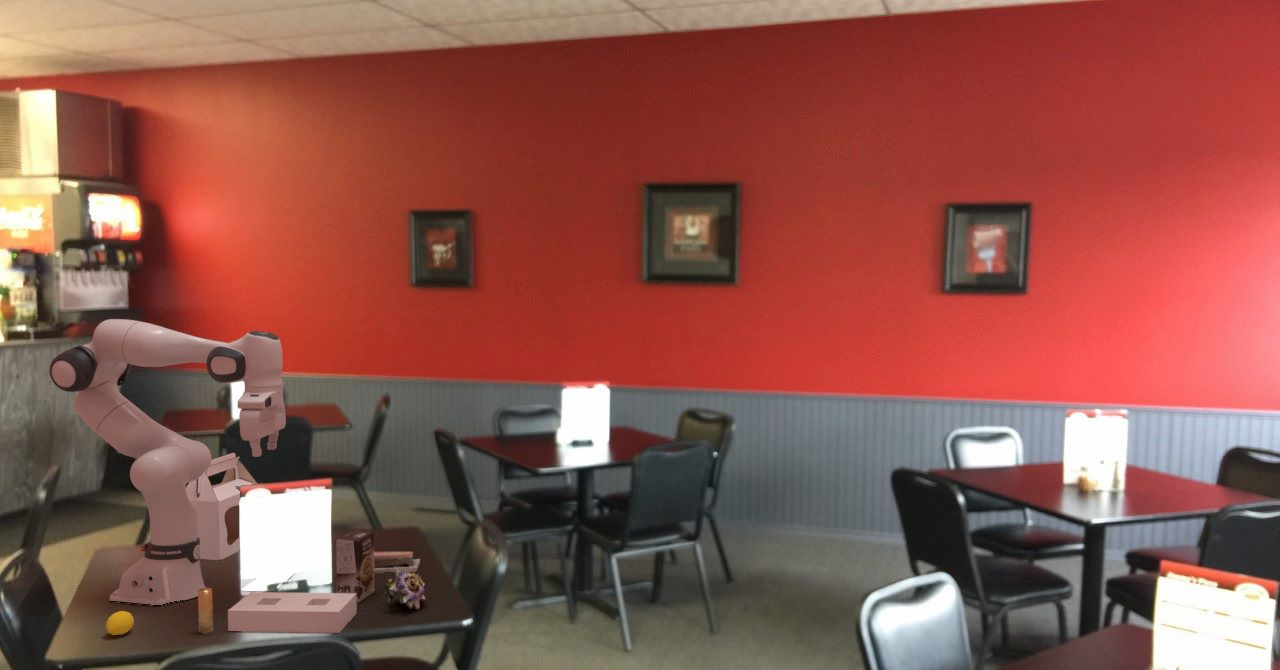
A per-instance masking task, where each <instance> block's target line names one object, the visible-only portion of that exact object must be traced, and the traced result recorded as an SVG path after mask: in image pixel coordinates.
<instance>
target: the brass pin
mask: <svg viewBox="0 0 1280 670" xmlns="http://www.w3.org/2000/svg"><path fill="white" fill-rule="evenodd" d="M197 598H198V599H197V600H198V601H197V604H198V605H197V606H198V633H199V632H202V633H204V632H206V633H207V632H211V631H213V632H214V614H213V613H214V611H213V588H212V587H206V588H202V589H199V590H198V596H197Z"/></svg>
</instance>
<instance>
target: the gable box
mask: <svg viewBox="0 0 1280 670" xmlns="http://www.w3.org/2000/svg"><path fill="white" fill-rule="evenodd" d="M239 459H240V455H239V456H236V453H235V452H230V453H227V454H224V455H221V456H218V457H215V458H212V460H211V465H210V467H209V469H208V470H207V471H206V472H205V473H204V474H203V475H202V476H200V477H199V478H198V479H196V480H194V481H191V482H189V483H187V485H186V492H187V495H188V498H189V501H190V502H191V503H192V504H193V505H195V507H196V509H197V522H198V537H199V538H200V559H199V560H202V559H204V560H205V561H222V560H224V559H226V558H228V557H230V556H232V555H234V554H236V553H238V552H240V551H239V500H240V491H239V490H238V489H236V487H235V486H241V485H251V484H259V483H258V482H257V480H256V479H255V478H254V477H253V475H252V474H251V473H250V471H249V470H248V469H247V467H245V465H244V464H243V463H242V462H241V460H239ZM225 471H226V472H225ZM222 472H225V474H224V477H223V478H222V481H221V483H218V484H215V485H212V483H211V481H210V478H209V477H210V476H213V475H216V474H220V473H222Z"/></svg>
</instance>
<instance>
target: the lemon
mask: <svg viewBox="0 0 1280 670" xmlns="http://www.w3.org/2000/svg"><path fill="white" fill-rule="evenodd" d="M134 623H135V620H134V616H133V615H132V613H131V612H128V611H124V610H119V611H116V612H114V613H112V614H111V615H110V616H109V617H108V618H107V620H106V624H105V629H106V631H107V633H108V634H110V635H111V634H112V635H111V636H113V635H117V634H123V633H126V632H127V633H128V631H129V630H130V631H131V629H132V628H133V627H134ZM130 631H129V632H130ZM127 633H126V634H127Z"/></svg>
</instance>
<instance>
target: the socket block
mask: <svg viewBox="0 0 1280 670" xmlns="http://www.w3.org/2000/svg"><path fill="white" fill-rule="evenodd" d="M357 608H358V607H357V603H356V593H337V592H333V593H332V592H276V591H275V592H274V591H250V592H249V593H248V594H247V595H245V596H244V597H243V598H242V599H241V600H240V601H238V602H237V603H235V604H234V605H233V606H232V607H231V608H228V610H227V626H228V630H227V631H241V632H242V633H244V632H245V633H246V632H249V633H303V634H304V633H305V634H306V633H309V634H310V633H319V634H320V633H321V634H322V633H323V634H328V633H329V634H340V633H341V632H342V630H343V629H345V627H346V626H347V625H348V624H349V623H350V622H351V621H352V619H353V618H355V616H356V615H357ZM348 622H349V623H348ZM241 632H240V633H241Z"/></svg>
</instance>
